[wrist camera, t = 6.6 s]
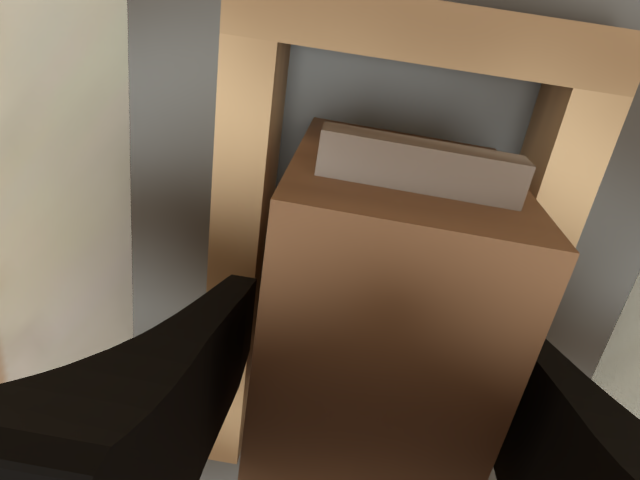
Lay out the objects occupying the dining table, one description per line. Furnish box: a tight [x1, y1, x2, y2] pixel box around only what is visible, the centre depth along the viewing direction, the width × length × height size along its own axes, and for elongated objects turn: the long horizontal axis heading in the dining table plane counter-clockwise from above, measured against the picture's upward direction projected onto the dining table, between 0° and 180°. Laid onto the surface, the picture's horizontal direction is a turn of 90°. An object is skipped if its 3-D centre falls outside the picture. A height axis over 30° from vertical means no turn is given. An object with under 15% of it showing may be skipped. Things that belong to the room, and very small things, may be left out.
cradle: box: [127, 0, 640, 480], centre depth 14 cm, size 20×14×3 cm
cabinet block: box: [238, 117, 580, 480], centre depth 12 cm, size 9×5×6 cm, turn 172°
